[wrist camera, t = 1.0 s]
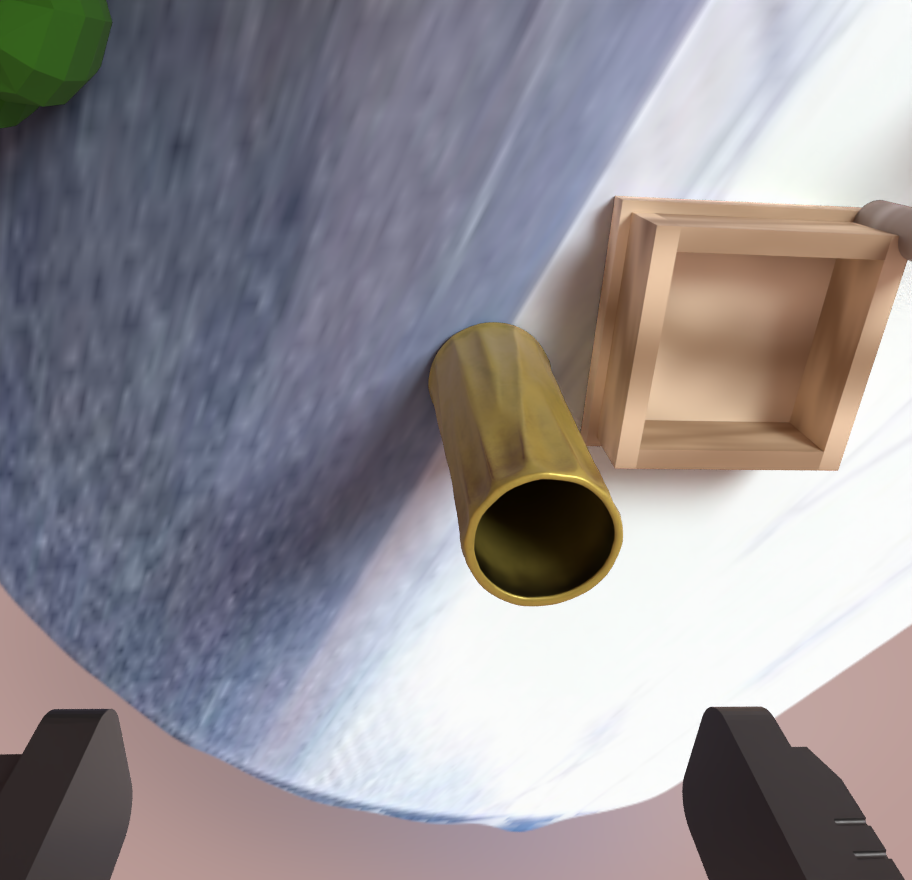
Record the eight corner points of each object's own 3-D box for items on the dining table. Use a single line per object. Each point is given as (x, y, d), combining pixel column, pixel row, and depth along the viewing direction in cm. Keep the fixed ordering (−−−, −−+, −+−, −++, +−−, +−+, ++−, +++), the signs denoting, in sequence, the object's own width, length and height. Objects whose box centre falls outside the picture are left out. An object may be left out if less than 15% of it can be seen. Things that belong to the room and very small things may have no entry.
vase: (488, 294, 34) (548, 422, 21) (575, 374, 36) (676, 534, 23) (403, 385, 35) (409, 554, 23) (490, 456, 38) (542, 647, 25)
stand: (616, 184, 32) (749, 242, 20) (885, 197, 33) (1157, 259, 21) (580, 435, 37) (667, 596, 26) (811, 438, 39) (995, 594, 27)
